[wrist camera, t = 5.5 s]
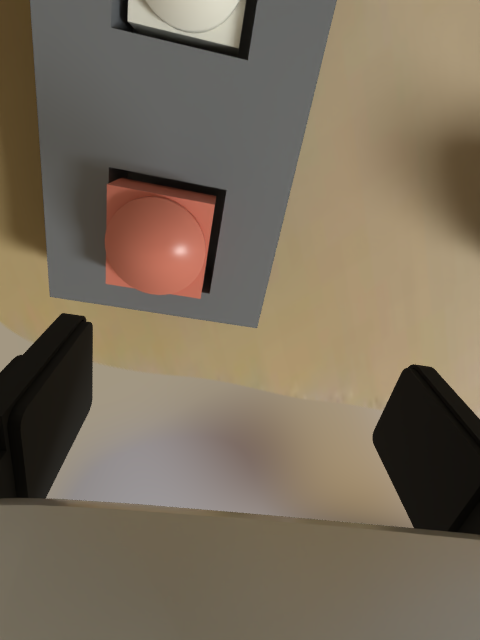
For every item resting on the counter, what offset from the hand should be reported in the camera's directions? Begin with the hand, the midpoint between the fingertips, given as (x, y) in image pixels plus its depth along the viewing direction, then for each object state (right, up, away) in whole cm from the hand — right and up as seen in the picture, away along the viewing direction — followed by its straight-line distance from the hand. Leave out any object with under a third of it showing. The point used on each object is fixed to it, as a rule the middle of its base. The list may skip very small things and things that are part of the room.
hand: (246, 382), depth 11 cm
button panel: (-4, +14, +11) cm, 18 cm away
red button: (-5, +7, +10) cm, 13 cm away
